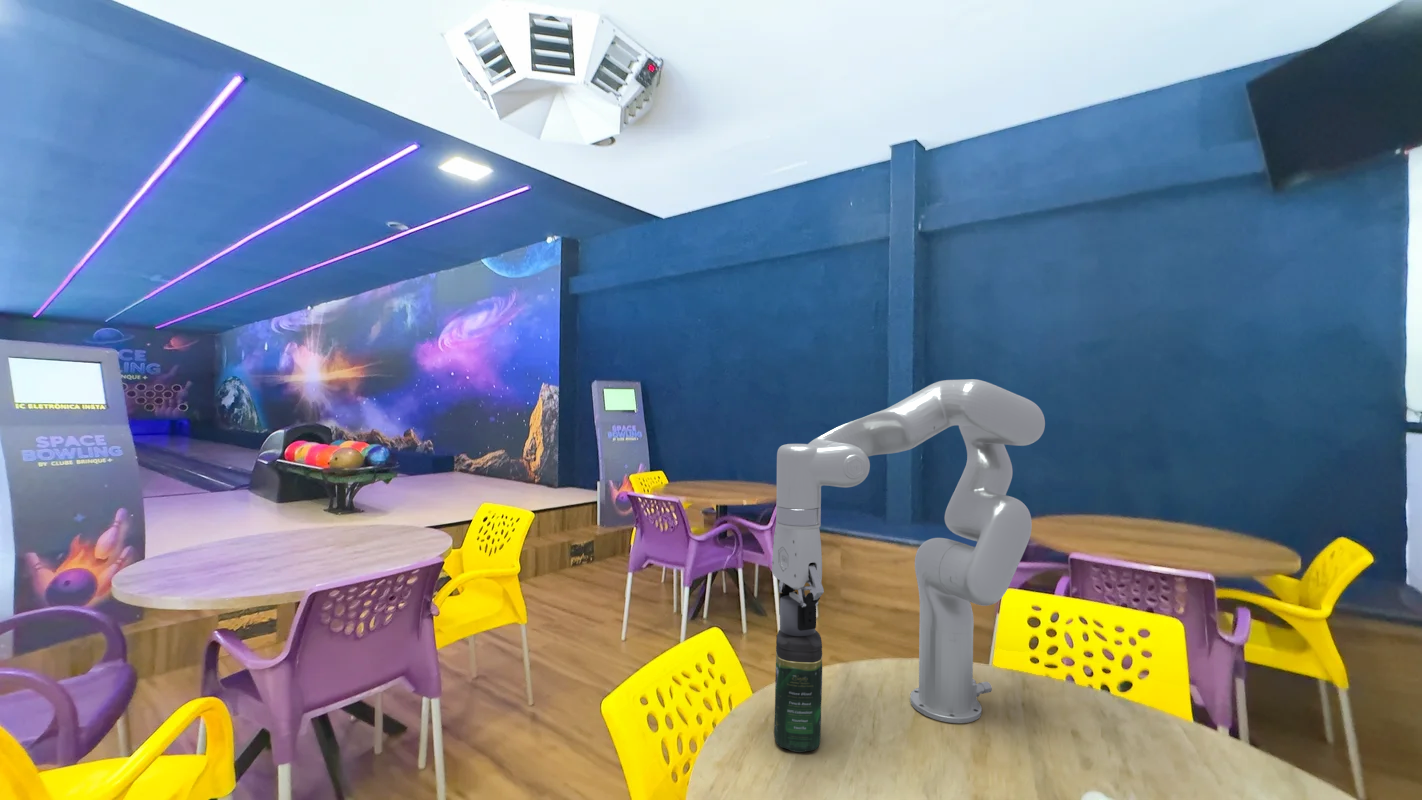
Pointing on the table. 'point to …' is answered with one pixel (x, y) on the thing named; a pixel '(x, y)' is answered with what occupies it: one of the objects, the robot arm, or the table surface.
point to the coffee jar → (798, 691)
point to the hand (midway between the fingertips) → (797, 621)
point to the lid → (791, 616)
